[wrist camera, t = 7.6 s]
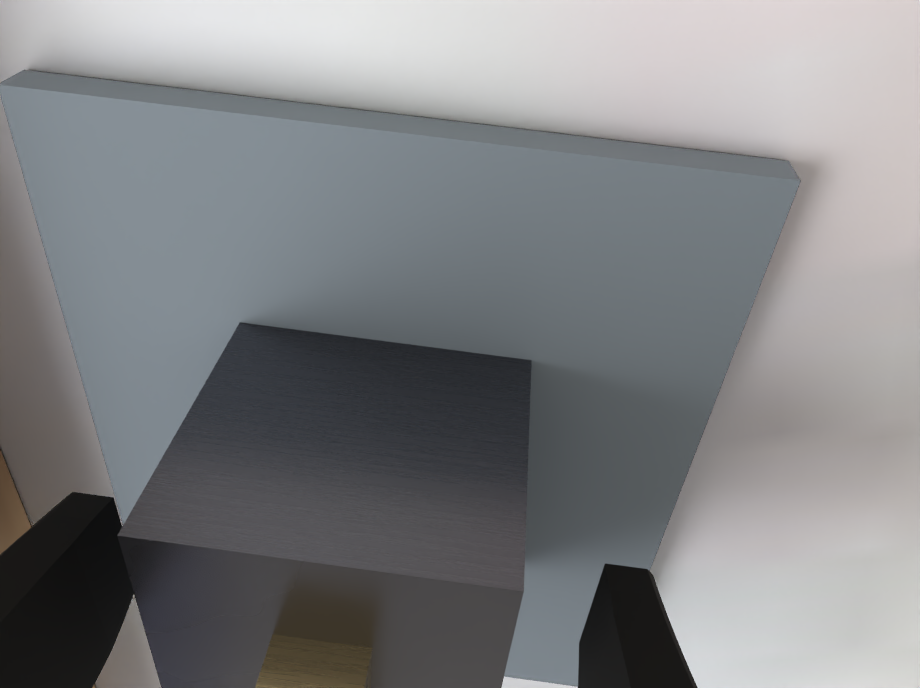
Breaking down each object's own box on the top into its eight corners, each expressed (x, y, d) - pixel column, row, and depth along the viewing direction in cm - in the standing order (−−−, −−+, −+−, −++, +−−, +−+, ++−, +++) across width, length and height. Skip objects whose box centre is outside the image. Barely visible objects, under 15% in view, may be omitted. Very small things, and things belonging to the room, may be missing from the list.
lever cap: (492, 566, 14) (471, 856, 10) (263, 535, 14) (157, 810, 10) (531, 360, 11) (521, 661, 7) (239, 321, 11) (80, 599, 7)
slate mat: (601, 664, 17) (603, 690, 16) (163, 604, 17) (152, 627, 17) (788, 160, 10) (800, 181, 9) (23, 69, 10) (-2, 84, 9)
